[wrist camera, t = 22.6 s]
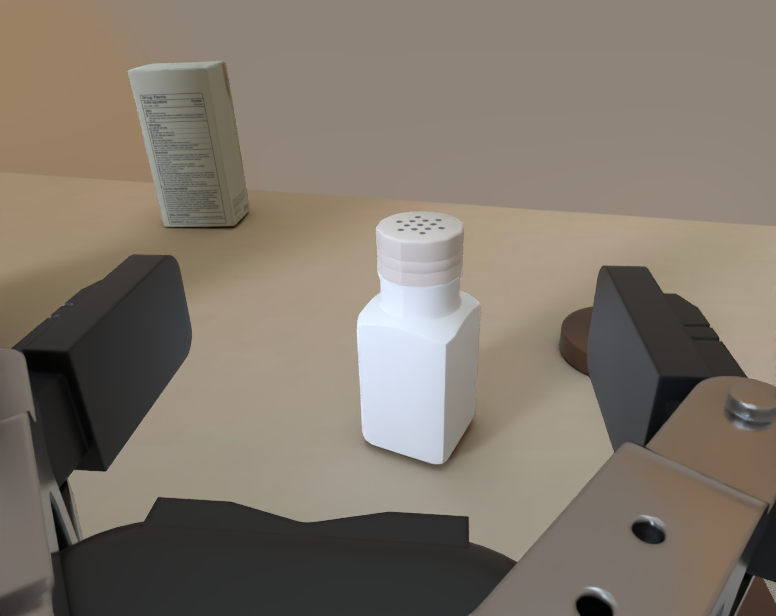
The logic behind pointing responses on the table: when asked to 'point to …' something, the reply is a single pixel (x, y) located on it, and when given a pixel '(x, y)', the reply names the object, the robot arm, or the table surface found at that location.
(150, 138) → the cosmetic box
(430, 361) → the salt shaker
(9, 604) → the robot arm
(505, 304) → the table surface
